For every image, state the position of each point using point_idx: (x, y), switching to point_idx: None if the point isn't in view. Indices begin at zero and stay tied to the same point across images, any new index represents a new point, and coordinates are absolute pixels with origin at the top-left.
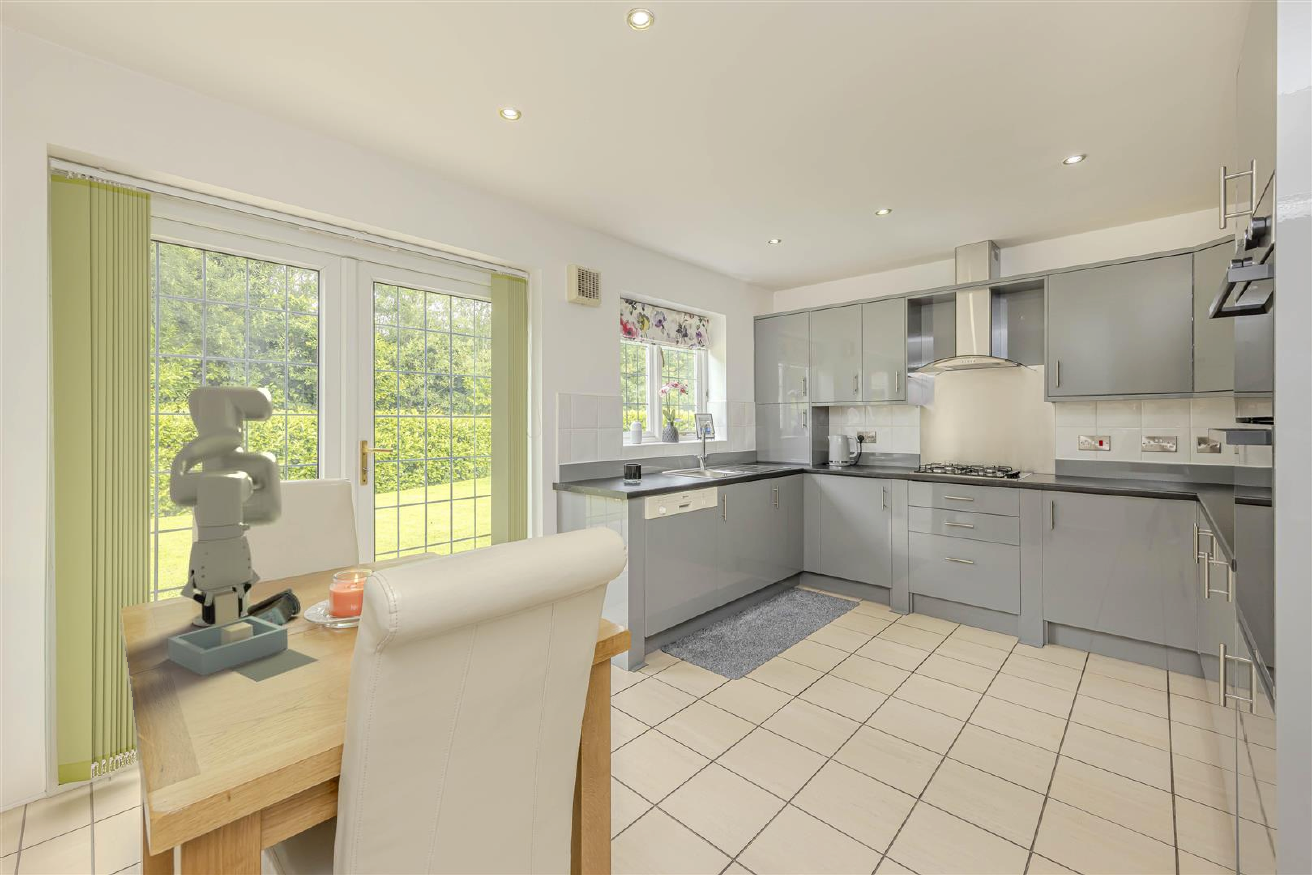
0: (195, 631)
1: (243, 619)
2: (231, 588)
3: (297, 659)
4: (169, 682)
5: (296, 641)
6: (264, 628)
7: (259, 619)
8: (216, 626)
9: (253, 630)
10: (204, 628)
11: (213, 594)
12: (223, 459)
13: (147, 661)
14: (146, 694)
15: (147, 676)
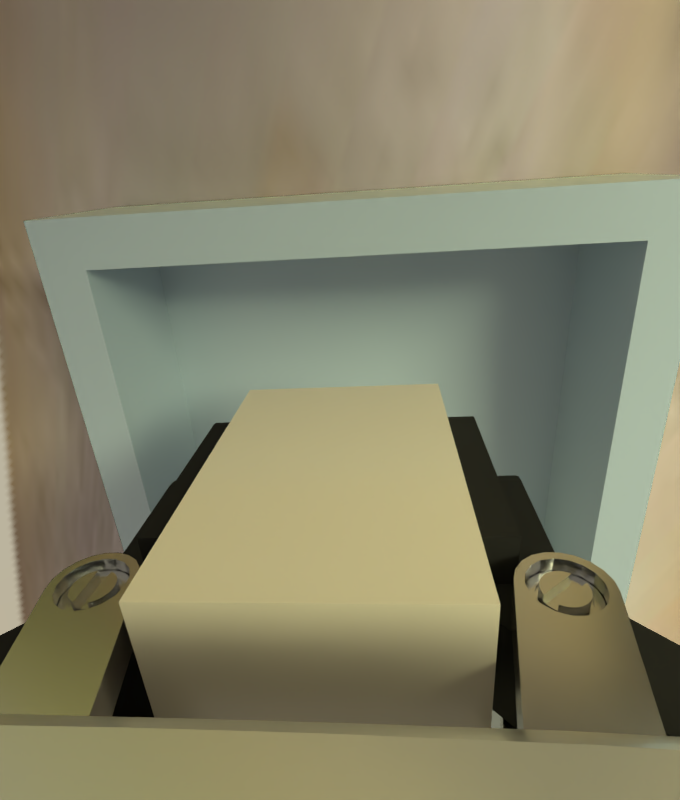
0: (213, 229)
1: (607, 229)
2: (519, 697)
3: (498, 716)
4: (97, 528)
5: (662, 521)
6: (588, 486)
7: (665, 365)
8: (371, 237)
9: (594, 309)
10: (286, 205)
11: (205, 681)
12: None
13: (14, 107)
14: (25, 568)
15: (22, 381)
